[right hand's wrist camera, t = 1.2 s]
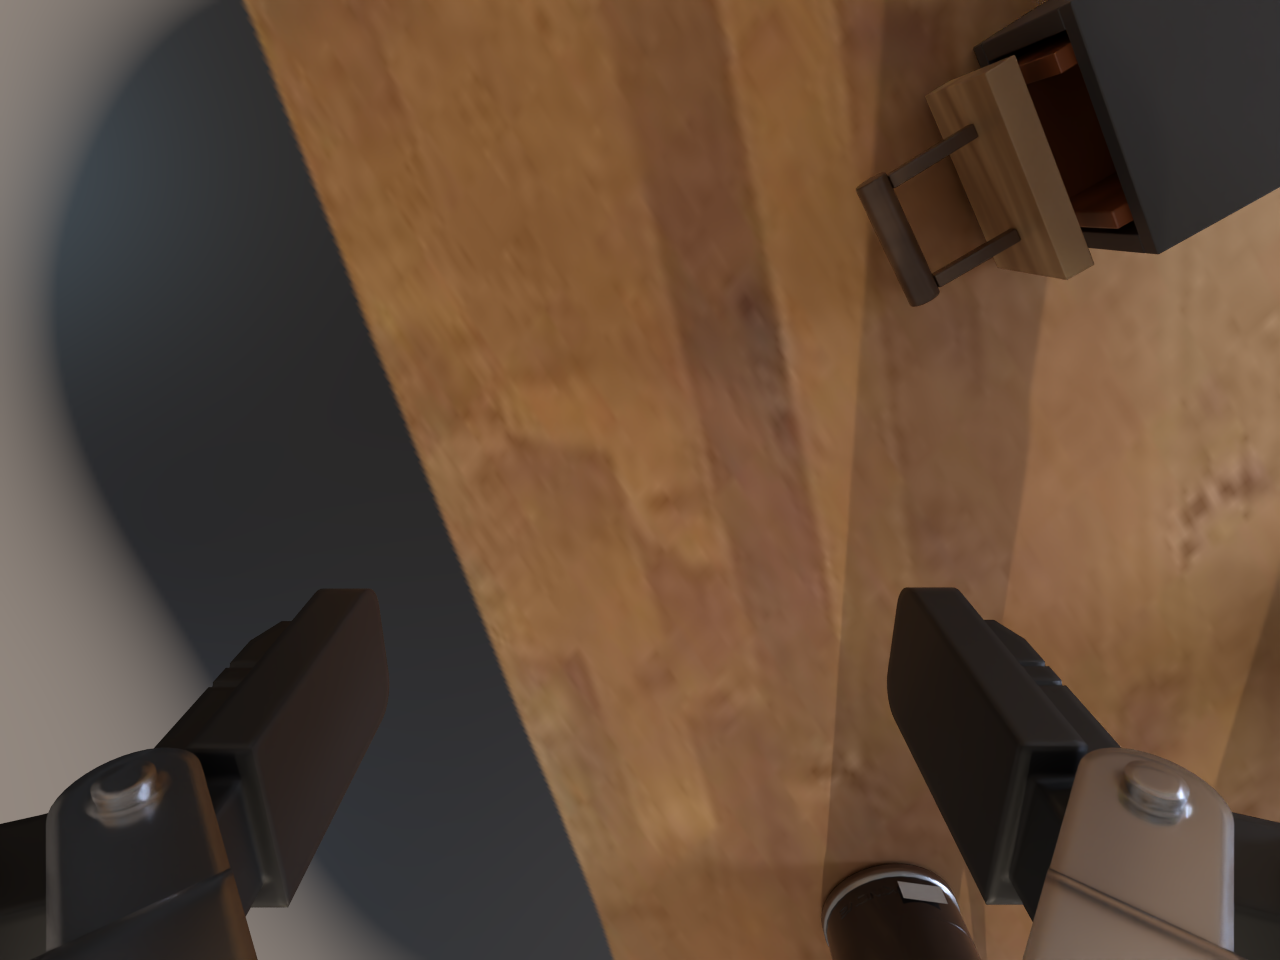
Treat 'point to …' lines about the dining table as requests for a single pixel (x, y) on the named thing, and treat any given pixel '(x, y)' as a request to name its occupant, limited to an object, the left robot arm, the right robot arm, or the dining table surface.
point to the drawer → (1010, 171)
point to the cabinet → (1171, 104)
